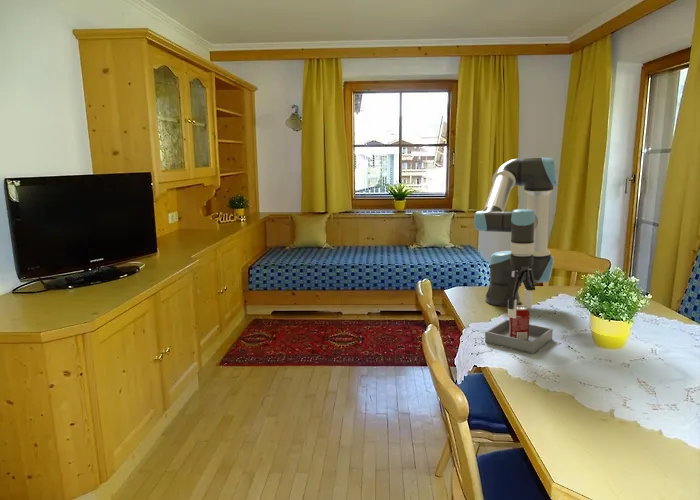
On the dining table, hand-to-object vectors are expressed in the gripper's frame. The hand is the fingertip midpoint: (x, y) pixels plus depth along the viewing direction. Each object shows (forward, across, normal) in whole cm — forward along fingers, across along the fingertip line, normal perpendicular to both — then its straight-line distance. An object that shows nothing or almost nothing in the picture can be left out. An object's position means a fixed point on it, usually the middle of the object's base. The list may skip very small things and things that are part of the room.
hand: (519, 312), depth 173 cm
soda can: (+10, +1, 0) cm, 10 cm away
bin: (+11, +1, 0) cm, 11 cm away
